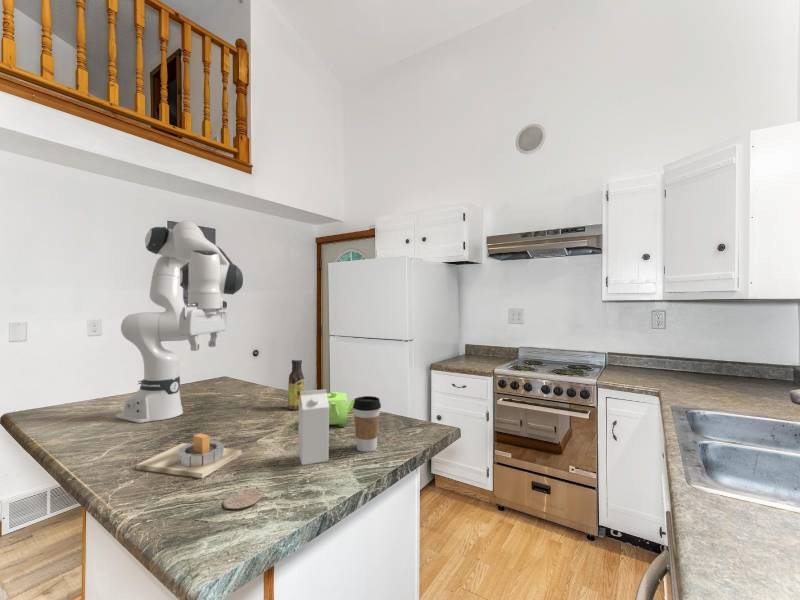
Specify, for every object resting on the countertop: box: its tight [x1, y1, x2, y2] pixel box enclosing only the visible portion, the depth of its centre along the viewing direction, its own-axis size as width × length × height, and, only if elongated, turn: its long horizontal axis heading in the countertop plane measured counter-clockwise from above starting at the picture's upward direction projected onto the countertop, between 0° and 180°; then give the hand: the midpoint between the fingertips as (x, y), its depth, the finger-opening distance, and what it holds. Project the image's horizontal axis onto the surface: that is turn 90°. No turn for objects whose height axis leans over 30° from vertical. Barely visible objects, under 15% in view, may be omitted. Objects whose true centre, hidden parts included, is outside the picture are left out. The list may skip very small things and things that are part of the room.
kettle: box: [327, 391, 355, 428], centre depth 134 cm, size 15×14×11 cm
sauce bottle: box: [287, 358, 305, 411], centre depth 153 cm, size 6×6×20 cm
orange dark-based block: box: [189, 432, 214, 454], centre depth 101 cm, size 6×6×6 cm
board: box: [136, 442, 242, 479], centre depth 102 cm, size 20×15×1 cm
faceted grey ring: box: [177, 440, 225, 467], centre depth 101 cm, size 11×11×3 cm
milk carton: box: [297, 389, 330, 466], centre depth 104 cm, size 7×7×19 cm
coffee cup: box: [352, 395, 382, 453], centre depth 112 cm, size 8×8×15 cm
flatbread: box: [222, 488, 262, 510], centre depth 82 cm, size 8×8×1 cm
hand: (204, 348), depth 114 cm, fingers open, 8 cm apart
